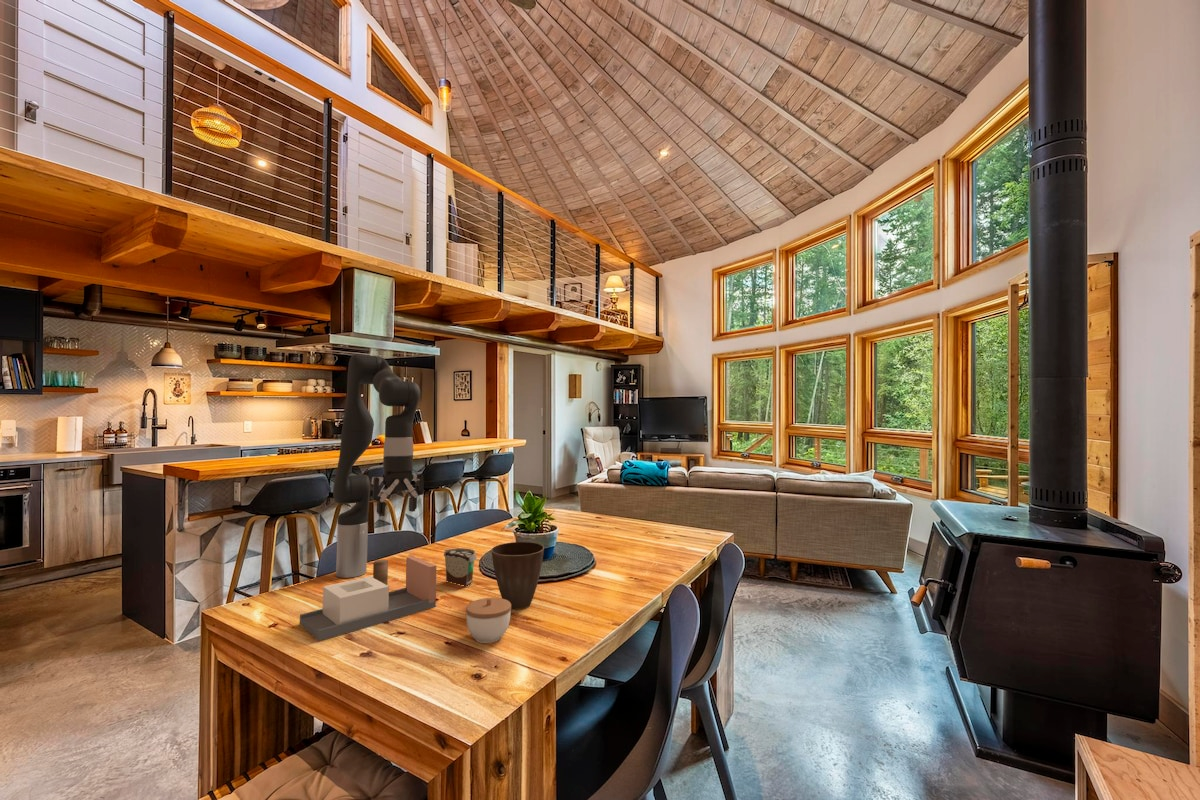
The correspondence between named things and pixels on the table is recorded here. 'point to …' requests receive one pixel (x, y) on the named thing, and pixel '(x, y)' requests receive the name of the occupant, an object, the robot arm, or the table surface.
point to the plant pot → (517, 571)
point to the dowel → (381, 571)
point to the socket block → (355, 599)
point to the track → (400, 604)
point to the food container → (459, 565)
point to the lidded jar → (488, 619)
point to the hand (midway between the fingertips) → (397, 513)
